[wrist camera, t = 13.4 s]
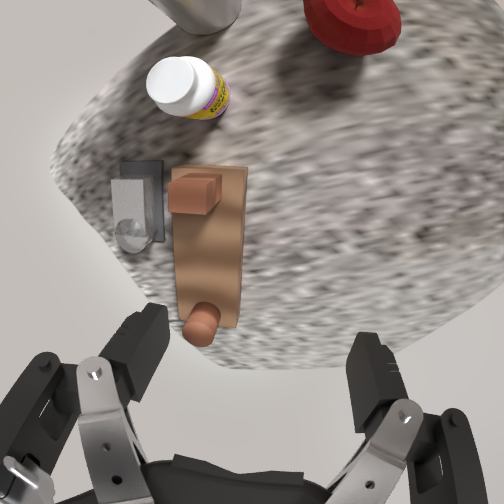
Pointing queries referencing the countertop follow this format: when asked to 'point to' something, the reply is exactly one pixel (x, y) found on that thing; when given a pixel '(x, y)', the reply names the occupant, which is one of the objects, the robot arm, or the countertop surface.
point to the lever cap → (134, 210)
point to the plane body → (208, 246)
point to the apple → (354, 24)
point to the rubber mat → (157, 170)
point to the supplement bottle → (188, 88)
